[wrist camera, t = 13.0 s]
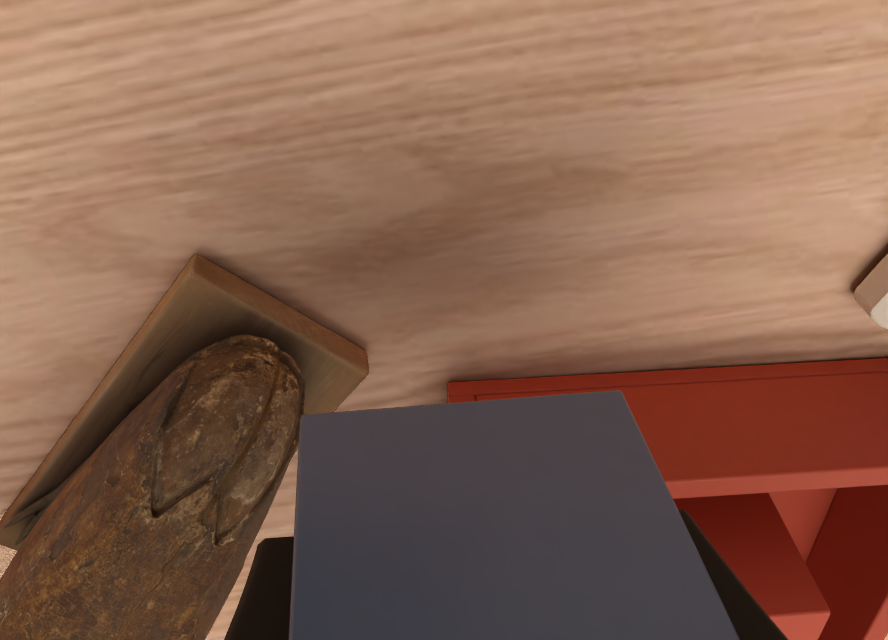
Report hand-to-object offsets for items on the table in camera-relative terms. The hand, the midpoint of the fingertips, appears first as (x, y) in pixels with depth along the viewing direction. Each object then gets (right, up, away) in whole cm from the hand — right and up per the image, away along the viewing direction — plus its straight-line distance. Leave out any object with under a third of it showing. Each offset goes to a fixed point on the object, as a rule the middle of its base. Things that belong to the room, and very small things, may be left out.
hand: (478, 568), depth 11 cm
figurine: (-8, -1, +9) cm, 12 cm away
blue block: (0, 0, +1) cm, 1 cm away
